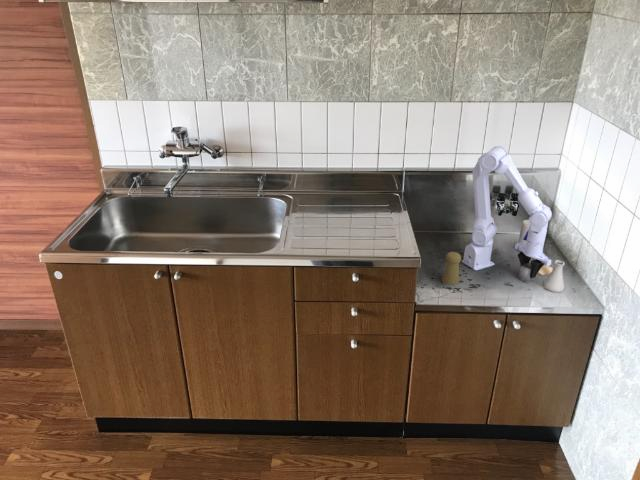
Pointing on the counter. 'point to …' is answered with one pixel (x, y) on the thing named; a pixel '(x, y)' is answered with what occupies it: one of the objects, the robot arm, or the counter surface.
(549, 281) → the flask
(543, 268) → the coaster
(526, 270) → the plug
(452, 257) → the pepper shaker
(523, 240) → the energy drink
